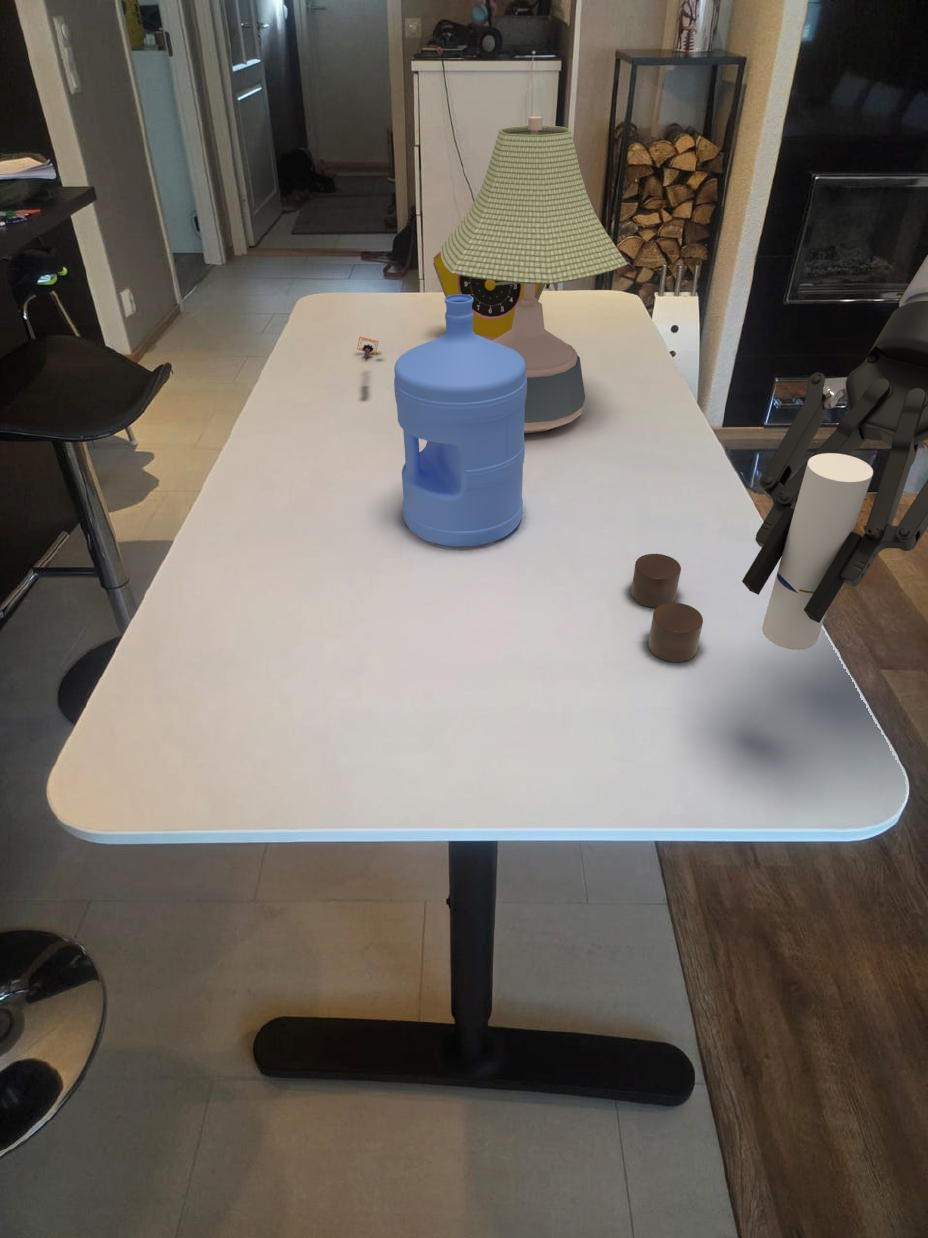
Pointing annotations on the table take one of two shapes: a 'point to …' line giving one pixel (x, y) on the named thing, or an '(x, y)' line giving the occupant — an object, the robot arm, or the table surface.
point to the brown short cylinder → (655, 580)
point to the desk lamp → (535, 254)
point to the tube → (814, 544)
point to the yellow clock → (485, 299)
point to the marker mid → (675, 632)
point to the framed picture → (367, 347)
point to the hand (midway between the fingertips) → (780, 601)
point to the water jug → (462, 433)
